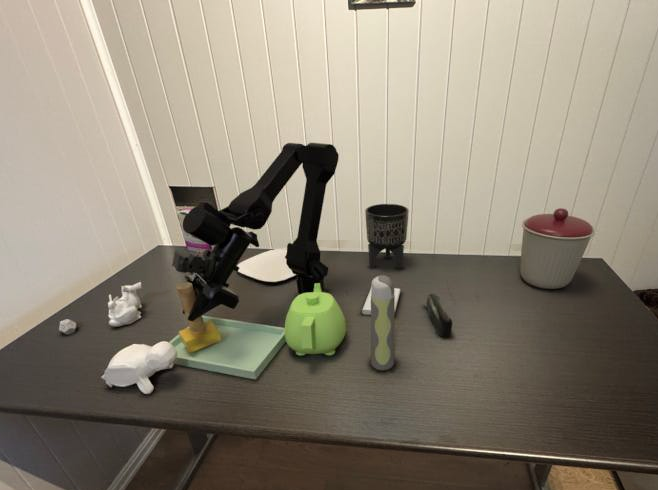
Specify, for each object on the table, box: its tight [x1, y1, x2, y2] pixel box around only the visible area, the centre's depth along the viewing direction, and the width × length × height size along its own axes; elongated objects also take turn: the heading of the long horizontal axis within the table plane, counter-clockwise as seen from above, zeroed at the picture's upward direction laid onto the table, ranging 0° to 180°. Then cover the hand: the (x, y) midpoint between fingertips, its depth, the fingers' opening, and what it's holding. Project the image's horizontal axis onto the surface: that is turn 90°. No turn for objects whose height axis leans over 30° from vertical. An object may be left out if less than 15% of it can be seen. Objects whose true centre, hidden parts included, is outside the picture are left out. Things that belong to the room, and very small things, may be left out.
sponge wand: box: [175, 281, 221, 353], centre depth 79 cm, size 7×5×14 cm
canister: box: [519, 207, 597, 290], centre depth 103 cm, size 18×18×21 cm
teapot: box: [284, 283, 347, 356], centre depth 81 cm, size 20×13×13 cm
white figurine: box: [107, 281, 143, 328], centre depth 93 cm, size 12×8×10 cm, turn 168°
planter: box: [364, 203, 410, 270], centre depth 116 cm, size 13×13×18 cm
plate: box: [237, 248, 298, 283], centre depth 119 cm, size 22×22×2 cm
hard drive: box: [361, 286, 401, 316], centre depth 99 cm, size 2×8×12 cm
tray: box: [168, 315, 287, 380], centre depth 83 cm, size 24×16×2 cm, turn 74°
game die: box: [58, 318, 77, 336], centre depth 90 cm, size 4×4×3 cm
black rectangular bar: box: [424, 293, 453, 338], centre depth 90 cm, size 5×3×15 cm
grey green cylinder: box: [370, 274, 395, 371], centre depth 73 cm, size 5×5×20 cm
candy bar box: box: [175, 208, 215, 254], centre depth 123 cm, size 11×5×16 cm, turn 68°
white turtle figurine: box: [100, 340, 178, 395], centre depth 73 cm, size 9×8×15 cm
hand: (187, 317), depth 78 cm, fingers closed on sponge wand, 3 cm apart
